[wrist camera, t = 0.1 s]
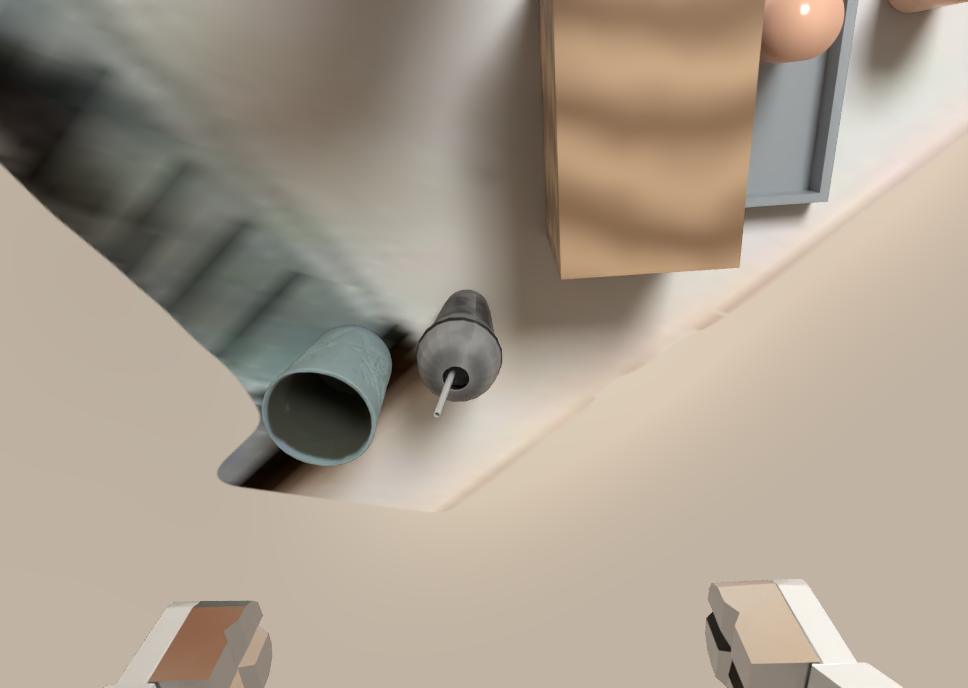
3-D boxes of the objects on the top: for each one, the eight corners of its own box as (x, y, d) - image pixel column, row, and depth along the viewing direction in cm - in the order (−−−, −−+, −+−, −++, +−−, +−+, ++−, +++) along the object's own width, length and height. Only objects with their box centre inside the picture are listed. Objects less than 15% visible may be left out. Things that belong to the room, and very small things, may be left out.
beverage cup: (515, 323, 60) (521, 425, 41) (455, 354, 61) (434, 466, 43) (479, 263, 57) (468, 343, 39) (418, 298, 59) (379, 390, 40)
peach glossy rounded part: (732, 1, 47) (775, -17, 40) (795, -5, 47) (850, -24, 39) (727, 68, 49) (766, 63, 42) (787, 63, 49) (838, 57, 41)
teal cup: (416, 376, 62) (397, 436, 51) (342, 418, 65) (309, 485, 54) (359, 300, 59) (327, 347, 48) (284, 347, 61) (236, 403, 50)
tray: (657, -12, 47) (665, -18, 45) (845, -30, 47) (864, -37, 44) (649, 208, 55) (656, 214, 52) (813, 196, 54) (827, 201, 51)
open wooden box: (537, -29, 47) (551, -75, 34) (699, -45, 46) (774, -99, 34) (547, 237, 56) (561, 279, 43) (684, 227, 55) (739, 267, 42)
